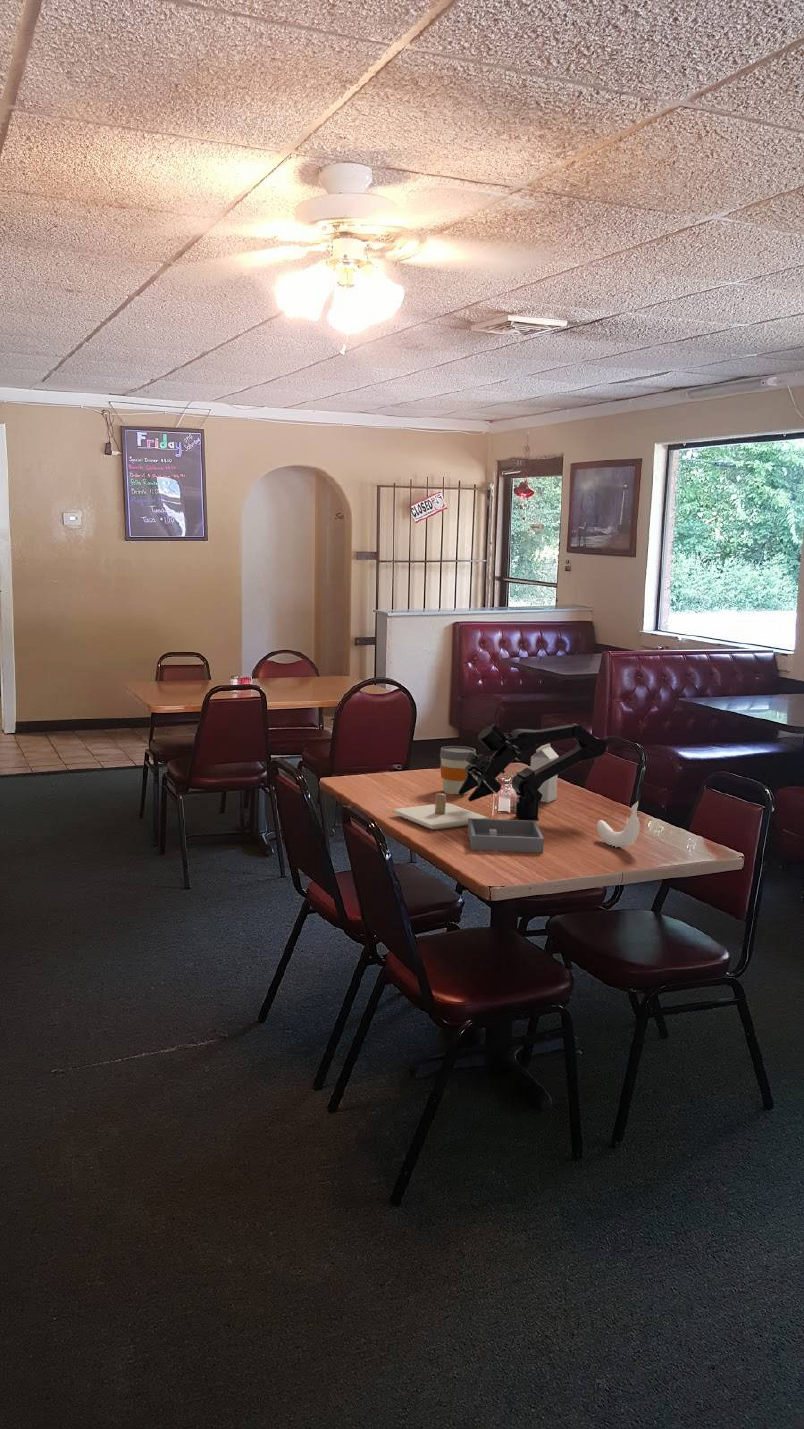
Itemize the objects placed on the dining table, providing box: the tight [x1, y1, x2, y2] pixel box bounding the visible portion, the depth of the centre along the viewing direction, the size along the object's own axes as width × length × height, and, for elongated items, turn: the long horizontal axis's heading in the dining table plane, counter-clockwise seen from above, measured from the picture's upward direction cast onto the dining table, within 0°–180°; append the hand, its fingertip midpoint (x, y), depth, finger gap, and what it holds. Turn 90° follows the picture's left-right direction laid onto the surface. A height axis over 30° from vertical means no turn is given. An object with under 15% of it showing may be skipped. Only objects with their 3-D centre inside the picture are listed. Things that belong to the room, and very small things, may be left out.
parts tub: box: [467, 818, 545, 853], centre depth 308 cm, size 20×20×4 cm
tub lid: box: [392, 792, 489, 831], centre depth 329 cm, size 21×21×8 cm
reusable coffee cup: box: [439, 745, 477, 795], centre depth 369 cm, size 13×13×15 cm
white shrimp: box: [596, 801, 641, 849], centre depth 307 cm, size 5×19×15 cm, turn 28°
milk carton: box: [529, 743, 560, 804], centre depth 362 cm, size 7×7×19 cm
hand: (463, 797), depth 331 cm, fingers open, 9 cm apart
